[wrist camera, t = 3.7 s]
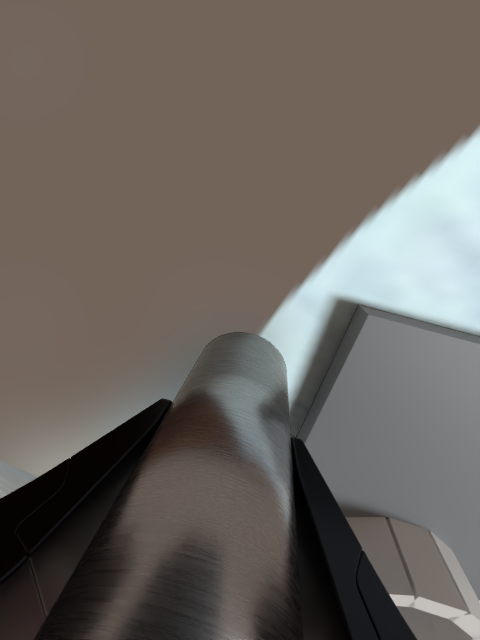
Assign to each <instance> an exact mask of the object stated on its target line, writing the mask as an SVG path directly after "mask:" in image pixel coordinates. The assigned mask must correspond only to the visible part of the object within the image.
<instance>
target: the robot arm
mask: <svg viewBox="0 0 480 640" xmlns="http://www.w3.org/2000/svg"><path fill="white" fill-rule="evenodd" d="M171 404H172V401H170V400H167V399H160V400H159V401H157V402H156V403H154V404H153V405H151V406H149V407H148V408H146V409H145V410H143V411H142V412H140V413H139V414H137V415H135V416H134V417H132V418H131V419H129V420H128V421H126V422H125V423H123V424H122V425H120V426H118V427H117V428H115V429H114V430H113V431H111V432H109V433H107V434H106V435H104V436H103V437H101V438H100V439H98V440H97V441H95V442H93V443H92V444H90V445H89V446H87V447H86V448H84V449H83V450H81V451H79V452H78V453H76V454H75V455H73V456H72V457H71V459H70V458H69V459H67V460H65V461H64V462H62V463H61V464H59V465H57V466H56V467H54V468H53V469H51V470H49V471H48V472H46V473H45V474H43V475H41V476H40V477H38V478H36V479H35V480H33V481H31V482H29V483H28V484H26V485H24V486H22V487H21V488H19V489H17V490H15V491H14V492H12V493H10V494H8V495H6V496H5V497H3V498H1V499H0V640H33V639H34V638H35V636H36V634H37V632H38V631H39V629H40V627H41V626H42V624H43V622H44V621H45V619H46V617H47V615H48V614H49V612H50V610H51V609H52V607H53V605H54V604H55V602H56V600H57V598H58V597H59V595H60V593H61V592H62V590H63V588H64V586H65V585H66V583H67V581H68V580H69V578H70V576H71V575H72V573H73V571H74V569H75V568H76V566H77V564H78V563H79V561H80V559H81V558H82V556H83V554H84V552H85V551H86V549H87V547H88V546H89V544H90V542H91V541H92V539H93V537H94V535H95V534H96V532H97V530H98V529H99V527H100V525H101V524H102V522H103V520H104V518H105V517H106V515H107V513H108V512H109V510H110V508H111V506H112V505H113V503H114V501H115V500H116V498H117V496H118V495H119V493H120V491H121V489H122V488H123V486H124V484H125V483H126V481H127V479H128V478H129V476H130V474H131V472H132V471H133V469H134V467H135V466H136V464H137V462H138V461H139V459H140V457H141V455H142V454H143V452H144V450H145V449H146V447H147V445H148V444H149V442H150V440H151V438H152V437H153V435H154V433H155V432H156V430H157V428H158V426H159V425H160V423H161V421H162V420H163V418H164V416H165V415H166V413H167V411H168V409H169V408H170V406H171ZM291 450H292V467H293V483H294V499H295V515H296V531H297V548H298V564H299V580H300V596H301V612H302V628H303V640H417V638H416V637H415V635H414V633H413V632H412V630H411V629H410V627H409V626H408V624H407V622H406V621H405V619H404V618H403V616H402V614H401V613H400V611H399V610H398V608H397V606H396V605H395V603H394V601H393V600H392V598H391V597H390V595H389V593H388V592H387V590H386V588H385V587H384V585H383V583H382V581H381V580H380V578H379V576H378V574H377V573H376V571H375V569H374V568H373V566H372V564H371V562H370V560H369V559H368V557H367V555H366V553H365V552H364V551H363V550H362V546H361V544H360V543H359V541H358V539H357V537H356V535H355V534H354V532H353V530H352V528H351V527H350V525H349V523H348V521H347V519H346V518H345V516H344V514H343V512H342V510H341V509H340V507H339V505H338V503H337V501H336V500H335V498H334V496H333V494H332V492H331V491H330V489H329V487H328V485H327V483H326V482H325V480H324V478H323V476H322V474H321V473H320V471H319V469H318V467H317V465H316V464H315V462H314V460H313V458H312V456H311V455H310V453H309V451H308V449H307V447H306V446H305V444H304V442H303V441H302V440H301V439H299V438H296V437H291Z"/></svg>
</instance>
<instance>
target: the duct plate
mask: <svg viewBox="0 0 480 640" xmlns="http://www.w3.org/2000/svg"><path fill="white" fill-rule="evenodd" d="M297 438H299V439H301V440H302V441H303V442H304V444H305V446H306V447H307V449H308V451H309V453H310V455H311V456H312V458H313V460H314V462H315V464H316V465H317V467H318V469H319V471H320V473H321V474H322V476H323V478H324V480H325V482H326V483H327V485H328V487H329V489H330V491H331V492H332V494H333V496H334V498H335V500H336V501H337V503H338V505H339V507H340V509H341V510H342V512H343V514H344V516H345V518H346V519H347V521H348V523H349V525H350V527H351V528H352V530H353V532H354V534H355V535H356V537H357V539H358V541H359V543H360V544H361V546H362V550H363V551H364V552H365V553H366V555H367V557H368V559H369V560H370V562H371V564H372V566H373V568H374V569H375V571H376V573H377V574H378V576H379V578H380V580H381V581H382V583H383V585H384V587H385V588H386V590H387V592H388V593H389V595H390V597H391V598H392V600H393V601H394V603H395V605H396V606H397V608H398V610H399V611H400V613H401V614H402V616H403V618H404V619H405V621H406V622H407V624H408V626H409V627H410V629H411V630H412V632H413V633H414V635H415V637H416V638H417V640H480V337H479V336H475V335H471V334H467V333H464V332H460V331H456V330H452V329H448V328H445V327H441V326H437V325H433V324H430V323H426V322H422V321H418V320H415V319H411V318H407V317H403V316H399V315H396V314H392V313H388V312H384V311H381V310H377V309H373V308H369V307H366V306H362V305H358V307H357V309H356V312H355V314H354V316H353V318H352V320H351V322H350V324H349V327H348V329H347V331H346V333H345V335H344V337H343V339H342V341H341V344H340V346H339V348H338V350H337V352H336V354H335V356H334V359H333V361H332V363H331V365H330V367H329V369H328V371H327V373H326V376H325V378H324V380H323V382H322V384H321V386H320V388H319V391H318V393H317V395H316V397H315V399H314V401H313V403H312V406H311V408H310V410H309V412H308V414H307V416H306V418H305V420H304V423H303V425H302V427H301V429H300V431H299V433H298V435H297Z"/></svg>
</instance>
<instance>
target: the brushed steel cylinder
mask: <svg viewBox="0 0 480 640" xmlns="http://www.w3.org/2000/svg"><path fill="white" fill-rule="evenodd" d="M33 640H303V628H302V612H301V596H300V580H299V564H298V548H297V531H296V515H295V499H294V483H293V467H292V450H291V434H290V418H289V402H288V386H287V370H286V365H285V362H284V359H283V357H282V355H281V354H280V352H279V351H278V350H277V349H276V348H275V347H274V346H273V345H272V344H271V343H270V342H268V341H267V340H265V339H263V338H261V337H259V336H257V335H254V334H250V333H243V332H234V333H228V334H224V335H221V336H219V337H217V338H215V339H214V340H212V341H211V342H210V343H209V344H208V345H207V346H206V347H205V349H204V350H203V352H202V353H201V355H200V357H199V359H198V360H197V362H196V364H195V365H194V367H193V369H192V370H191V372H190V374H189V375H188V377H187V379H186V381H185V382H184V384H183V386H182V388H181V389H180V391H179V393H178V394H177V396H176V398H175V399H174V401H173V403H172V404H171V406H170V408H169V409H168V411H167V413H166V415H165V416H164V418H163V420H162V421H161V423H160V425H159V426H158V428H157V430H156V432H155V433H154V435H153V437H152V438H151V440H150V442H149V444H148V445H147V447H146V449H145V450H144V452H143V454H142V455H141V457H140V459H139V461H138V462H137V464H136V466H135V467H134V469H133V471H132V472H131V474H130V476H129V478H128V479H127V481H126V483H125V484H124V486H123V488H122V489H121V491H120V493H119V495H118V496H117V498H116V500H115V501H114V503H113V505H112V506H111V508H110V510H109V512H108V513H107V515H106V517H105V518H104V520H103V522H102V524H101V525H100V527H99V529H98V530H97V532H96V534H95V535H94V537H93V539H92V541H91V542H90V544H89V546H88V547H87V549H86V551H85V552H84V554H83V556H82V558H81V559H80V561H79V563H78V564H77V566H76V568H75V569H74V571H73V573H72V575H71V576H70V578H69V580H68V581H67V583H66V585H65V586H64V588H63V590H62V592H61V593H60V595H59V597H58V598H57V600H56V602H55V604H54V605H53V607H52V609H51V610H50V612H49V614H48V615H47V617H46V619H45V621H44V622H43V624H42V626H41V627H40V629H39V631H38V632H37V634H36V636H35V638H34V639H33Z"/></svg>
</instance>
